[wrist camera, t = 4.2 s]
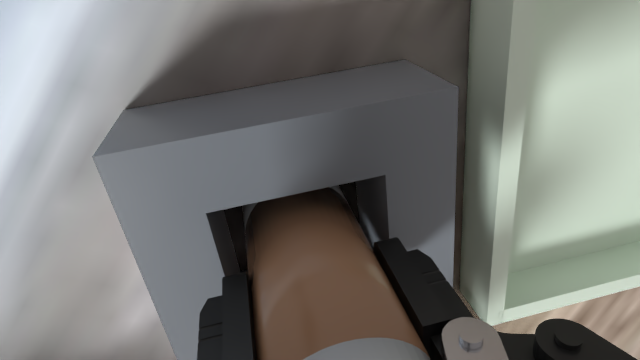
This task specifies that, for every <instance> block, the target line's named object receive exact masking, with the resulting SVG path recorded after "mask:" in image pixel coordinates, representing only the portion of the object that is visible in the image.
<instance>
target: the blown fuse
mask: <svg viewBox="0 0 640 360" xmlns="http://www.w3.org/2000/svg"><path fill="white" fill-rule="evenodd" d="M243 220H244V231H245V242H246V253H247V264H248V275H249V280H250V291H251V302H252V313H253V324H254V335H255V345H256V356H257V360H431V358H430V356H429V354H428V353H427V351H426V349H425V347H424V345H423V343H422V341H421V339H420V338H419V336H418V334H417V332H416V330H415V328H414V326H413V324H412V323H411V321H410V319H409V317H408V315H407V313H406V311H405V309H404V307H403V306H402V304H401V302H400V300H399V298H398V296H397V294H396V292H395V291H394V289H393V287H392V285H391V283H390V281H389V279H388V277H387V276H386V274H385V272H384V270H383V268H382V266H381V264H380V262H379V260H378V259H377V257H376V255H375V253H374V251H373V249H372V247H371V245H370V244H369V242H368V240H367V238H366V236H365V234H364V232H363V230H362V229H361V227H360V225H359V223H358V221H357V219H356V217H355V215H354V213H353V212H352V210H351V208H350V206H349V204H348V202H347V200H346V198H345V197H344V195H343V193H342V191H341V189H340V187H339V185H336V186H332V187H327V188H322V189H317V190H313V191H308V192H303V193H299V194H294V195H289V196H285V197H280V198H275V199H271V200H266V201H261V202H256V203H252V204H247V205H243Z"/></svg>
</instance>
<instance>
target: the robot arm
mask: <svg viewBox="0 0 640 360" xmlns="http://www.w3.org/2000/svg"><path fill="white" fill-rule="evenodd" d="M373 249H374V253H375V255H376V257H377V259H378V260H379V262H380V264H381V266H382V268H383V270H384V272H385V274H386V276H387V277H388V279H389V281H390V283H391V285H392V287H393V289H394V291H395V292H396V294H397V296H398V298H399V300H400V302H401V304H402V306H403V307H404V309H405V311H406V313H407V315H408V317H409V319H410V321H411V323H412V324H413V326H414V328H415V330H416V332H417V334H418V336H419V338H420V339H421V341H422V343H423V345H424V347H425V349H426V351H427V353H428V354H429V356H430V358H431V360H637V359H635V358H634V357H632V356H631V355H629V354H628V353H626V352H624V351H623V350H621V349H620V348H618V347H616V346H615V345H613V344H612V343H610V342H608V341H607V340H605V339H604V338H602V337H600V336H599V335H597V334H596V333H594V332H592V331H591V330H589V329H588V328H586V327H584V326H583V325H581V324H579V323H576V322H573V321H570V320H566V319H549V320H546V321H544V322H542V323H541V324H539V325H538V327H537V328H536V332H535V334H508V333H501V332H497V331H496V330H495V329H494V328H493V327H492V326H491V325H489V324H488V323H486V322H484V321H482V320H480V319H476V318H474V317H473V316H472V314H471V313H470V312H469V310H468V309H467V307H466V306H465V305H464V303H463V302H462V300H461V299H460V298H459V296H458V295H457V293H456V292H455V291H454V289H453V288H452V286H451V285H450V284H449V282H448V281H446V278H445V277H444V275H443V274H442V272H441V271H439V268H438V267H437V265H436V264H435V263H434V261H433V260H432V258H431V257H429V256H428V255H426V254H424V253H423V252H421V251H420V250H418V249H415V250H411V251H407V250H406V249H405V247H404V246H403V244H402V243H401V241H400V240H399V238H398V237H394V238H390V239H386V240H381V241H377V242H374V244H373ZM198 342H199V343H198V351H197V360H257V356H256V345H255V335H254V324H253V313H252V302H251V291H250V280H249V277H248V274H247V272H243V273H238V274H234V275H230V276H226V277H223V278H222V295H221V296H217V297H212V298H208V299H207V301H206V303H205V304H204V306H203V308H202V310H201V312H200V317H199V334H198Z"/></svg>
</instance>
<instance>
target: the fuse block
mask: <svg viewBox="0 0 640 360" xmlns="http://www.w3.org/2000/svg"><path fill="white" fill-rule="evenodd" d="M458 94H459V87H458V86H456V85H454V84H452V83H450V82H448V81H446V80H444V79H442V78H440V77H438V76H436V75H434V74H433V73H431V72H429V71H427V70H425V69H423V68H421V67H419V66H417V65H415V64H413V63H411V62H409V61H407V60H399V61H394V62H388V63H382V64H377V65H371V66H366V67H360V68H355V69H349V70H344V71H338V72H332V73H327V74H321V75H316V76H310V77H305V78H299V79H293V80H288V81H282V82H277V83H271V84H266V85H260V86H254V87H249V88H243V89H238V90H232V91H227V92H221V93H215V94H210V95H204V96H199V97H193V98H188V99H182V100H176V101H171V102H165V103H160V104H154V105H149V106H143V107H138V108H132V109H126V110H123V112H122V113H121V115H120V116H119V118H118V119H117V121H116V122H115V124H114V125H113V127H112V128H111V130H110V131H109V133H108V134H107V136H106V137H105V139H104V140H103V142H102V143H101V145H100V146H99V148H98V149H97V151H96V152H95V154H94V155H93V160H94V162H95V164H96V167H97V169H98V172H99V174H100V176H101V179H102V181H103V184H104V186H105V188H106V191H107V193H108V196H109V198H110V200H111V203H112V205H113V207H114V210H115V212H116V215H117V217H118V219H119V222H120V224H121V227H122V229H123V231H124V234H125V236H126V239H127V241H128V243H129V246H130V248H131V250H132V253H133V255H134V258H135V260H136V262H137V265H138V267H139V270H140V272H141V274H142V277H143V279H144V282H145V284H146V286H147V289H148V291H149V294H150V296H151V298H152V301H153V303H154V305H155V308H156V310H157V313H158V315H159V317H160V320H161V322H162V325H163V327H164V329H165V332H166V334H167V337H168V339H169V341H170V344H171V346H172V348H173V351H174V353H175V356H176V358H177V360H197V351H198V343H199V342H198V334H199V317H200V312H201V310H202V308H203V306H204V304H205V303H206V301H207V299H208V298H212V297H217V296H221V295H222V278H223V277H226V276H230V275H234V274H238V273H243V272H247V274H248V270H243V271H240V268H239V264H238V261H237V257H236V253H235V250H234V246H233V243H232V239H231V235H230V232H229V228H228V224H227V221H226V217H225V213H224V209H228V208H233V207H238V206H242V205H247V204H252V203H256V202H261V201H266V200H271V199H275V198H280V197H285V196H289V195H294V194H299V193H303V192H308V191H313V190H317V189H322V188H327V187H332V186H336V185H341V184H346V183H350V182H356V192H357V203H358V213H359V223H360V227H361V229H362V230H363V232H364V234H365V236H366V238H367V240H368V242H369V244H370V245H371V247H372V249H373V244H374V242H377V241H381V240H386V239H390V238H394V237H398V238H399V240H400V241H401V243H402V244H403V246H404V247H405V249H406V250H407V251H411V250H415V249H418V250H420V251H421V252H423V253H424V254H426V255H428V256H429V257H431V258H432V260H433V261H434V263H435V264H436V265H437V267H438V268H439V271H441V272H442V274H443V275H444V277H445V278H446V281H448V282H449V284H450V285H451V286H452V288H453V265H454V231H455V197H456V162H457V128H458ZM373 251H374V249H373ZM248 277H249V275H248Z"/></svg>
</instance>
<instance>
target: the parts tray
mask: <svg viewBox="0 0 640 360" xmlns="http://www.w3.org/2000/svg"><path fill="white" fill-rule="evenodd" d="M639 286H640V0H471V8H470V34H469V59H468V85H467V110H466V136H465V162H464V187H463V213H462V239H461V264H460V292H461V293H462V295H463V296H464V297H465V299H466V300H467V301H468V303H469V304H470V305H471V307H472V308H473V310H474V311H475V312H476V314H477V315H478V316H479V318H480V319H481V320H482V321H484V322H486V323H488V324H489V325H491V326H493V325H497V324H500V323H504V322H508V321H512V320H515V319H519V318H523V317H527V316H530V315H534V314H538V313H542V312H545V311H549V310H553V309H557V308H560V307H564V306H568V305H572V304H575V303H579V302H583V301H587V300H590V299H594V298H598V297H601V296H605V295H609V294H613V293H616V292H620V291H624V290H628V289H631V288H635V287H639Z"/></svg>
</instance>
